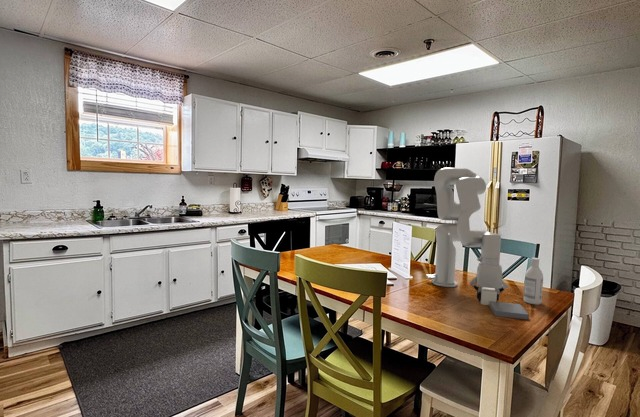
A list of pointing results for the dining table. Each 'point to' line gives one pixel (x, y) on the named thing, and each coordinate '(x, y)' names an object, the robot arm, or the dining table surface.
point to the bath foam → (533, 283)
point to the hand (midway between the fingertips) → (487, 300)
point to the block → (488, 295)
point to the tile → (508, 310)
